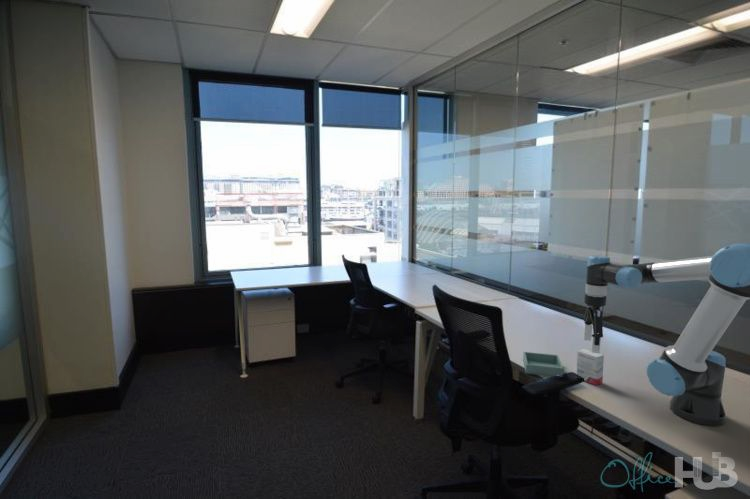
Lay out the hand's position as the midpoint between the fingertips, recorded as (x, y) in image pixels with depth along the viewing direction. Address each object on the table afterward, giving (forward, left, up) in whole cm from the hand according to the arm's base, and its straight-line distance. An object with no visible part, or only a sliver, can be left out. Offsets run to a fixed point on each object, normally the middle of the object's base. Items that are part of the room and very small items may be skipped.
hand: (591, 346), depth 165 cm
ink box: (0, 0, -15) cm, 15 cm away
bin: (+7, +17, -15) cm, 23 cm away
